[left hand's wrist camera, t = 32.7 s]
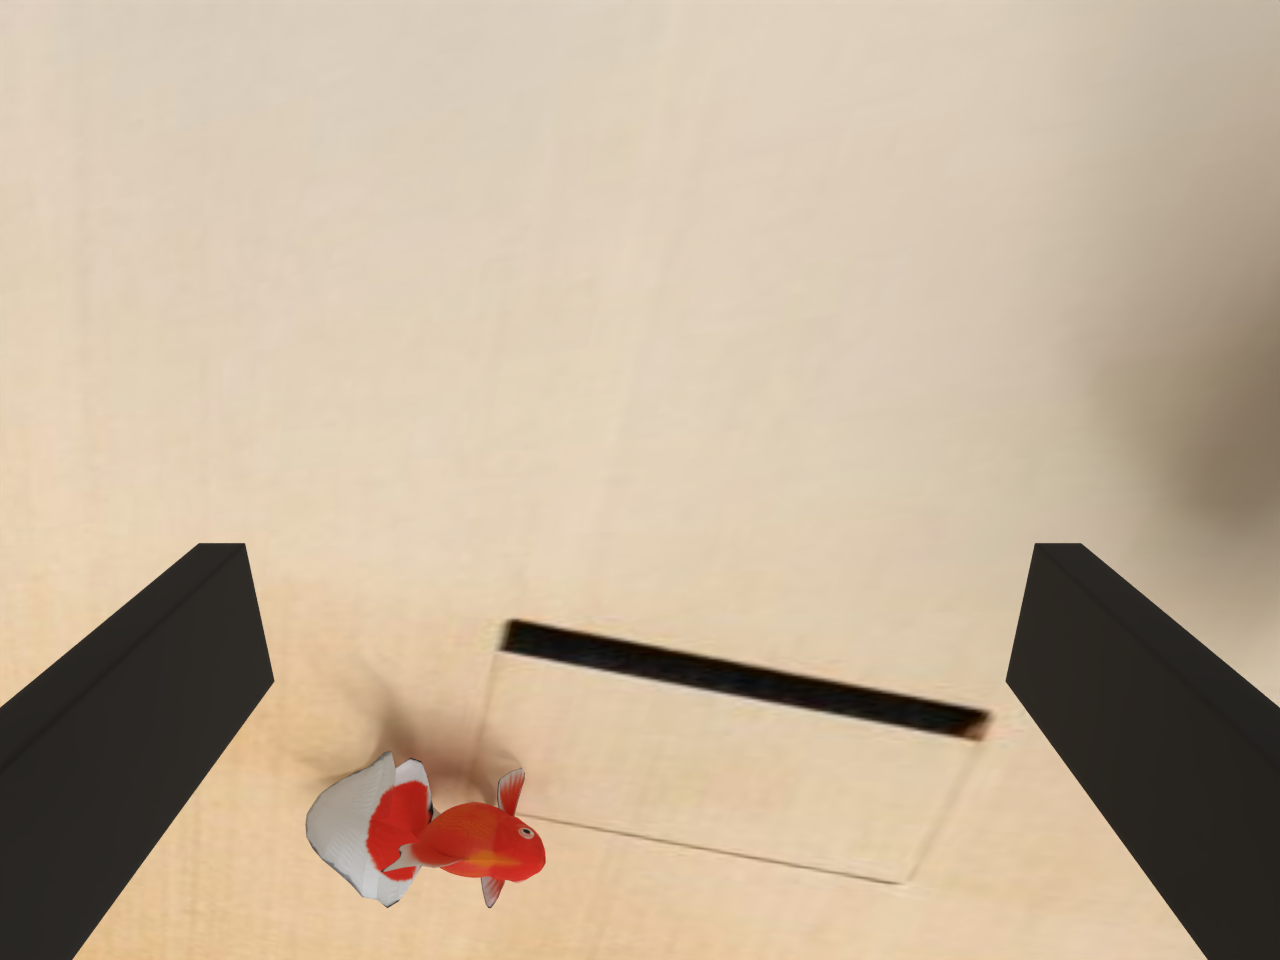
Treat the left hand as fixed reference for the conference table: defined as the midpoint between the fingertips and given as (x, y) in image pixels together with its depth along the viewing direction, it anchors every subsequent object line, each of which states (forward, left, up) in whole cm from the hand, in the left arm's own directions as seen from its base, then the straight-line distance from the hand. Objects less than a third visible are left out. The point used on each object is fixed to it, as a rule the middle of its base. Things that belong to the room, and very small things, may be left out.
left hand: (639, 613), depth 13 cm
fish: (+31, +15, -29) cm, 45 cm away
